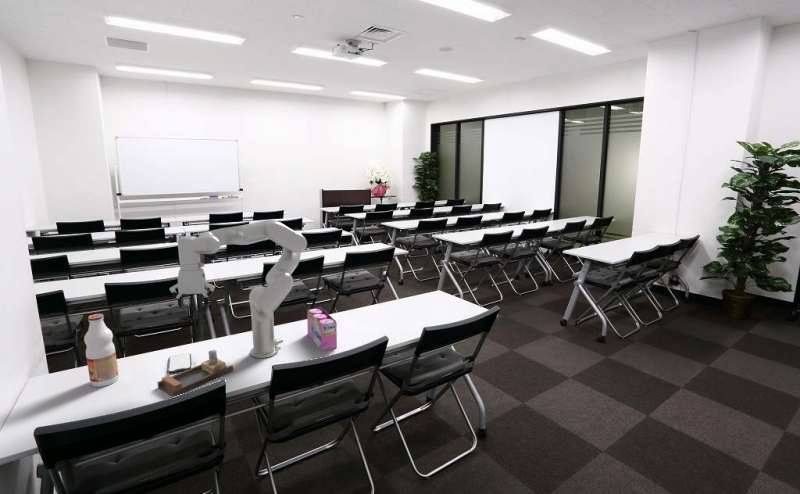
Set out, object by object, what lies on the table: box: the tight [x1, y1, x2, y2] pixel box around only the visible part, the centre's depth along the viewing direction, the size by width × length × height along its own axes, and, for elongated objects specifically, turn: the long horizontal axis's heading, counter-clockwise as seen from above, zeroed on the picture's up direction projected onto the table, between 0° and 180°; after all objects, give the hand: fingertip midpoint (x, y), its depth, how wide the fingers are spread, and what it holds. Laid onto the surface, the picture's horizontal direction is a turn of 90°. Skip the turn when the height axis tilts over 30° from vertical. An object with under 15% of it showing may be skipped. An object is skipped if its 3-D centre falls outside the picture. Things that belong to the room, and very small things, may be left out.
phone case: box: [167, 353, 192, 375], centre depth 181 cm, size 9×2×16 cm
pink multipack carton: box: [306, 306, 338, 352], centre depth 206 cm, size 24×8×14 cm, turn 30°
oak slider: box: [200, 349, 227, 374], centre depth 174 cm, size 6×8×8 cm
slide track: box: [157, 357, 234, 398], centre depth 169 cm, size 25×12×4 cm, turn 145°
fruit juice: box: [83, 313, 120, 388], centre depth 164 cm, size 9×9×28 cm
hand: (194, 306), depth 173 cm, fingers open, 9 cm apart
